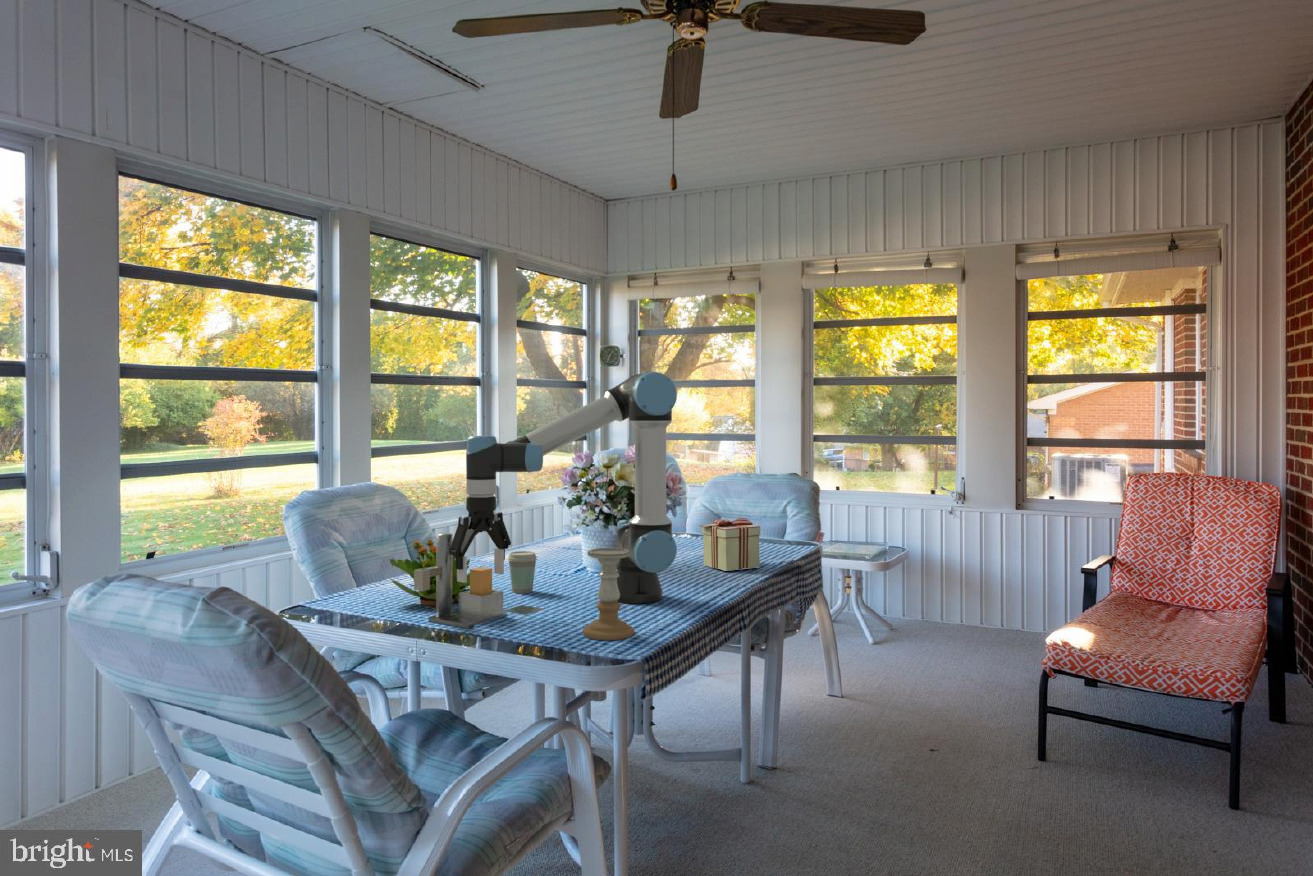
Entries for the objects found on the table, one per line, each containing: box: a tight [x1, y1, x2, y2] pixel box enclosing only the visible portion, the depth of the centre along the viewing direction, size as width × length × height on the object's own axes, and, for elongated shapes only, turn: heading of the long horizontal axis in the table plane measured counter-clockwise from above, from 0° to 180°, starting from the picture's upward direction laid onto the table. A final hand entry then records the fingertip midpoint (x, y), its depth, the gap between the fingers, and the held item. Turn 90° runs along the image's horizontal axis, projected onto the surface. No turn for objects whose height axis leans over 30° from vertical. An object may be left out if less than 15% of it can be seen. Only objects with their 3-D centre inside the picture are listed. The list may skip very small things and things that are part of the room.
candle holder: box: [582, 547, 635, 641], centre depth 201 cm, size 12×12×20 cm
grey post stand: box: [413, 532, 508, 630], centre depth 212 cm, size 14×19×22 cm
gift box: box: [699, 517, 761, 572], centre depth 292 cm, size 17×18×17 cm
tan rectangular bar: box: [469, 566, 493, 595], centre depth 215 cm, size 4×4×12 cm
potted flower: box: [389, 538, 471, 607], centre depth 233 cm, size 25×24×18 cm
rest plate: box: [503, 604, 544, 616], centre depth 223 cm, size 8×8×1 cm
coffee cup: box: [507, 550, 538, 595], centre depth 246 cm, size 8×9×12 cm
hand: (481, 577), depth 214 cm, fingers open, 13 cm apart
